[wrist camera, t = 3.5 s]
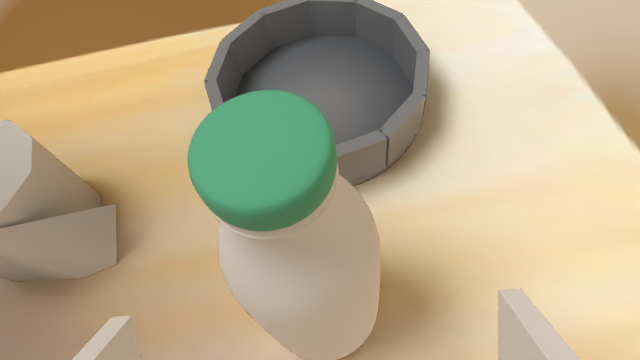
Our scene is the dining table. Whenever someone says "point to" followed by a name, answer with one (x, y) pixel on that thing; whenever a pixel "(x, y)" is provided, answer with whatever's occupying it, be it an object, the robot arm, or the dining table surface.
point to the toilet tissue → (49, 215)
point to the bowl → (334, 73)
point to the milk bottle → (288, 223)
